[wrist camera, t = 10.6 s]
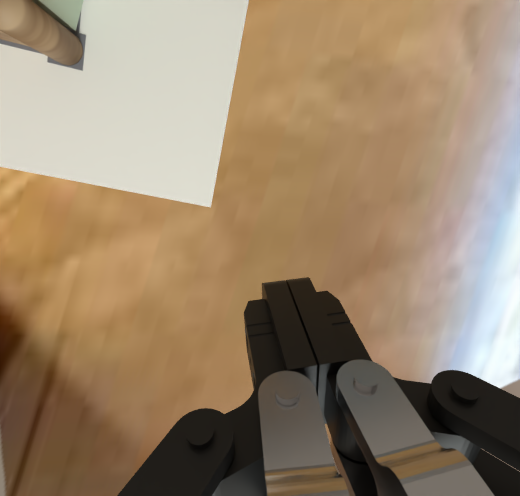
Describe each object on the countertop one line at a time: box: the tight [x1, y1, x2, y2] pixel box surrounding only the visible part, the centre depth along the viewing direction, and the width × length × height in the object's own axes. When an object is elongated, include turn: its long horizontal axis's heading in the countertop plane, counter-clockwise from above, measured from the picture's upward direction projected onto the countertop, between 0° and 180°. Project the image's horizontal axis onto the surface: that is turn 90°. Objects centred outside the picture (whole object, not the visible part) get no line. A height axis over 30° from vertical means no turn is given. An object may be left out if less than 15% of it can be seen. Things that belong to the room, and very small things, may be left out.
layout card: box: [0, 0, 249, 207], centre depth 30 cm, size 20×17×1 cm
